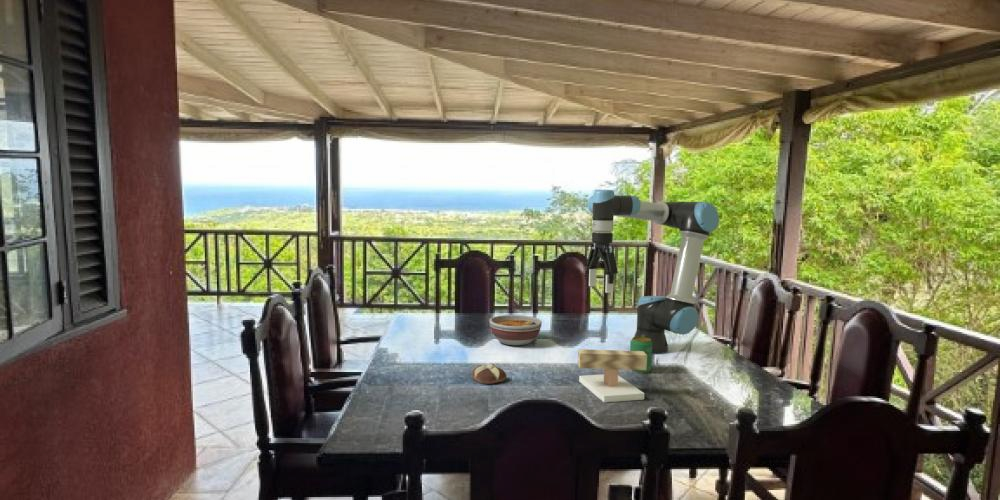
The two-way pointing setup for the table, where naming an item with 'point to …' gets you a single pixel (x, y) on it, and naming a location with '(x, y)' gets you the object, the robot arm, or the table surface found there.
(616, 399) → the fulcrum
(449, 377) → the table surface
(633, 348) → the beverage can
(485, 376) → the bread
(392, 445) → the table surface
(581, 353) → the oak bar
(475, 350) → the table surface
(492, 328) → the bowl
